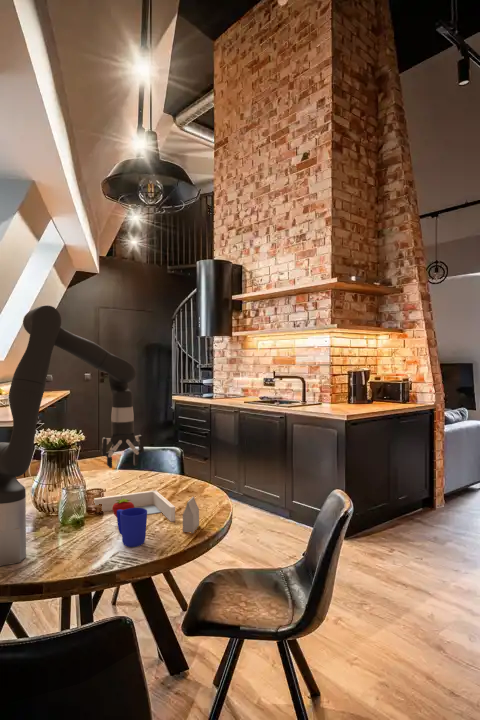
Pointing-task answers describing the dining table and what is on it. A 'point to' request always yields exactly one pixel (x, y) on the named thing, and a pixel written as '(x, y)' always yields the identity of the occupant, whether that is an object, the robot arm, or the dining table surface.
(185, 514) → the grey house-shaped block
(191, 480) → the dining table surface
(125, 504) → the strawberry
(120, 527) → the mug
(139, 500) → the corner arena
